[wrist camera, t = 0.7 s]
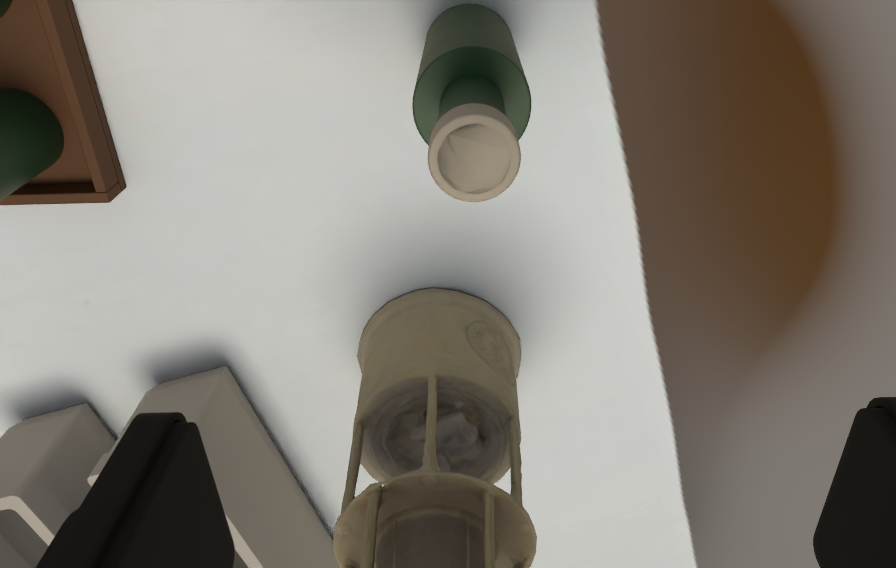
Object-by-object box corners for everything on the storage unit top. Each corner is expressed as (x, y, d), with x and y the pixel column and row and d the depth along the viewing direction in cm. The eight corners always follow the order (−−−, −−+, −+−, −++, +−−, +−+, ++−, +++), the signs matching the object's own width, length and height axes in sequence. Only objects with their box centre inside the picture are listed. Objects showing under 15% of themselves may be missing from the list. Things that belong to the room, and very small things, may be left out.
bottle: (408, 32, 33) (373, 131, 20) (488, -15, 32) (507, 57, 19) (451, 110, 35) (445, 248, 22) (528, 68, 34) (571, 187, 21)
